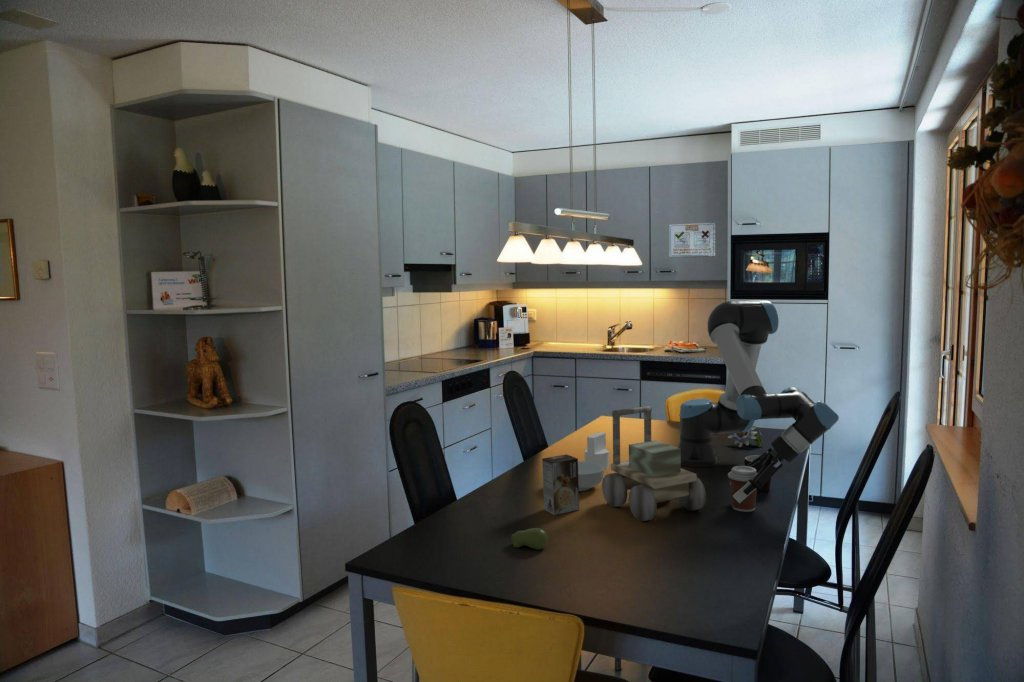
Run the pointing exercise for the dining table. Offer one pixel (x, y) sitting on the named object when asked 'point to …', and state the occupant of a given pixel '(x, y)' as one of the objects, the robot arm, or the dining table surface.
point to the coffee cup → (738, 480)
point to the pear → (530, 538)
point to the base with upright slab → (597, 450)
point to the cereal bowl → (589, 475)
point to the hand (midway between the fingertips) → (734, 493)
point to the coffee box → (560, 484)
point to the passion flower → (746, 437)
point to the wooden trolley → (649, 473)
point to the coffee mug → (750, 459)
